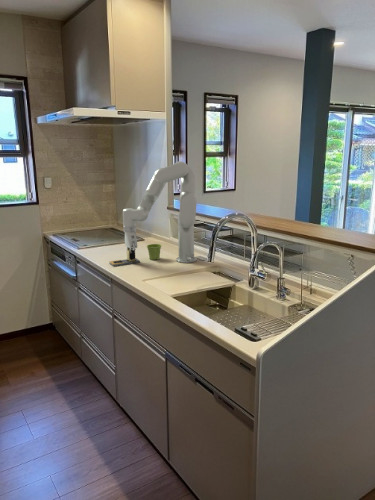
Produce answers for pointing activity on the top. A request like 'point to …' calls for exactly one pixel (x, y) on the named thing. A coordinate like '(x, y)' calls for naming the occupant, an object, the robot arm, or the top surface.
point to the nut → (129, 256)
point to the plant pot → (154, 251)
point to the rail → (123, 262)
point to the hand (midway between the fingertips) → (131, 258)
